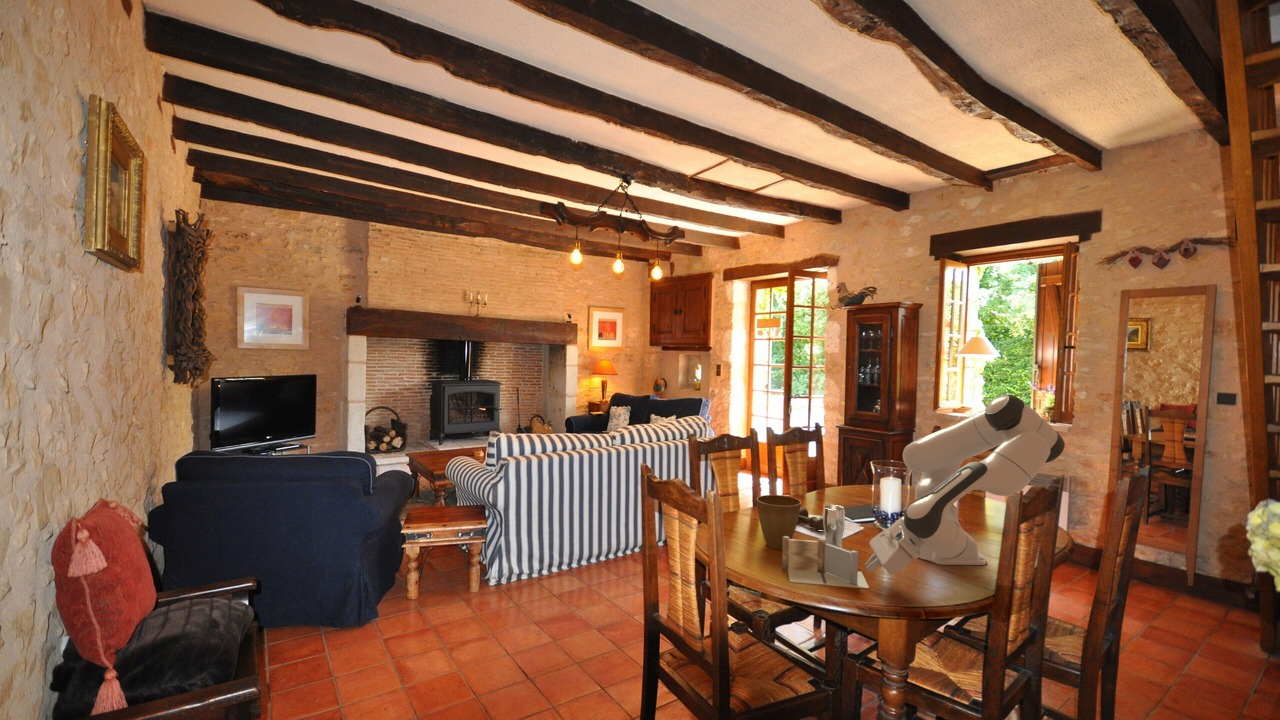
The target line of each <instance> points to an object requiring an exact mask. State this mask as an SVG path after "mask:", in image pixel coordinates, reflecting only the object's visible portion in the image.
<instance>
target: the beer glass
mask: <svg viewBox="0 0 1280 720" xmlns="http://www.w3.org/2000/svg"><path fill="white" fill-rule="evenodd" d="M845 514H846V513H845V507H844V506H841V505H836V504H825V505H824V506H823V513H822V519H823V527H824V531H823V534H824V539H826V544H827V543H828V544H831V545H834V546H836V547H839V548H842V549H843V542H842V541H843V536H844V531H845V526H846V525H845V524H846V523H845V522H846V515H845Z"/></svg>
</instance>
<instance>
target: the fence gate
mask: <svg viewBox="0 0 1280 720" xmlns="http://www.w3.org/2000/svg"><path fill="white" fill-rule="evenodd" d="M858 566H859V551H857V550H848V549H845V548H843V547H842V548H839V547H836V546H834V545H831V544H828V543H827V544H825V563H824V572H827V573H829V574H832V575H834V576H837V577H839V578H842V579H844V580H847V581H849V582H850V583H851V584H853V585H857V582H858V569H859V567H858Z"/></svg>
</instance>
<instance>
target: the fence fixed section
mask: <svg viewBox="0 0 1280 720" xmlns="http://www.w3.org/2000/svg"><path fill="white" fill-rule="evenodd" d="M825 544H826V539H825V538H823V537H821V538H817V540H809V539H796V538H792V539H789V537H788V536H783V549H782V557H781V558H782V567H781V568H782V570H783V571H788V569H792V570H805V571H819V572H824V563H825Z"/></svg>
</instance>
